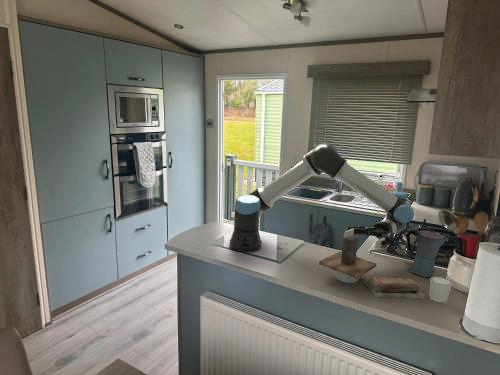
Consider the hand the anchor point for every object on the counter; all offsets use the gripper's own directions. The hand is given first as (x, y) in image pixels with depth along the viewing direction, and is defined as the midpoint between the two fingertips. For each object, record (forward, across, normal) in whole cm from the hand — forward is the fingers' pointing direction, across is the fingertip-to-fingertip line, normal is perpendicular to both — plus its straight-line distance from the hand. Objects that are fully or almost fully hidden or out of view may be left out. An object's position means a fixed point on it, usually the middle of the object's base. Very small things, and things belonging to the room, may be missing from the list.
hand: (359, 239), depth 138 cm
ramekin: (+7, 0, -14) cm, 16 cm away
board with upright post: (+7, 0, -9) cm, 12 cm away
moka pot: (-22, -18, -14) cm, 31 cm away
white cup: (-5, -30, -14) cm, 33 cm away
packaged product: (+3, -17, -15) cm, 23 cm away
